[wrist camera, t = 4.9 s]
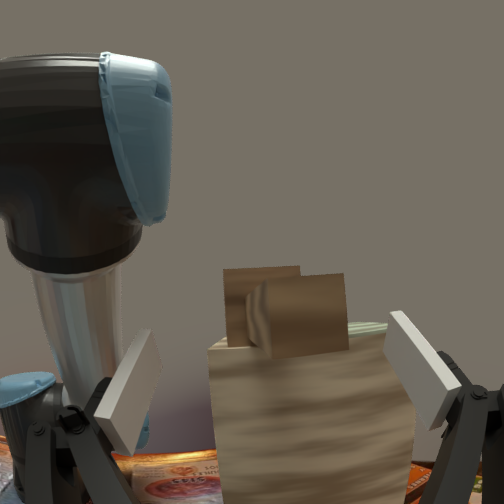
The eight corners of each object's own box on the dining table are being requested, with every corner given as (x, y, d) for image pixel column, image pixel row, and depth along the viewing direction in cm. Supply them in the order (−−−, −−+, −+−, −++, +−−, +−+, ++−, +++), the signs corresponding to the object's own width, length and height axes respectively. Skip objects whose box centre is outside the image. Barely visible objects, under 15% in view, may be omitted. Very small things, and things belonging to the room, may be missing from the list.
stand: (397, 530, 21) (416, 323, 28) (232, 555, 22) (206, 345, 28) (361, 477, 39) (362, 321, 45) (239, 492, 39) (226, 333, 45)
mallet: (382, 361, 14) (368, 217, 16) (232, 382, 13) (223, 220, 15) (285, 335, 39) (281, 277, 41) (226, 339, 39) (223, 280, 40)
